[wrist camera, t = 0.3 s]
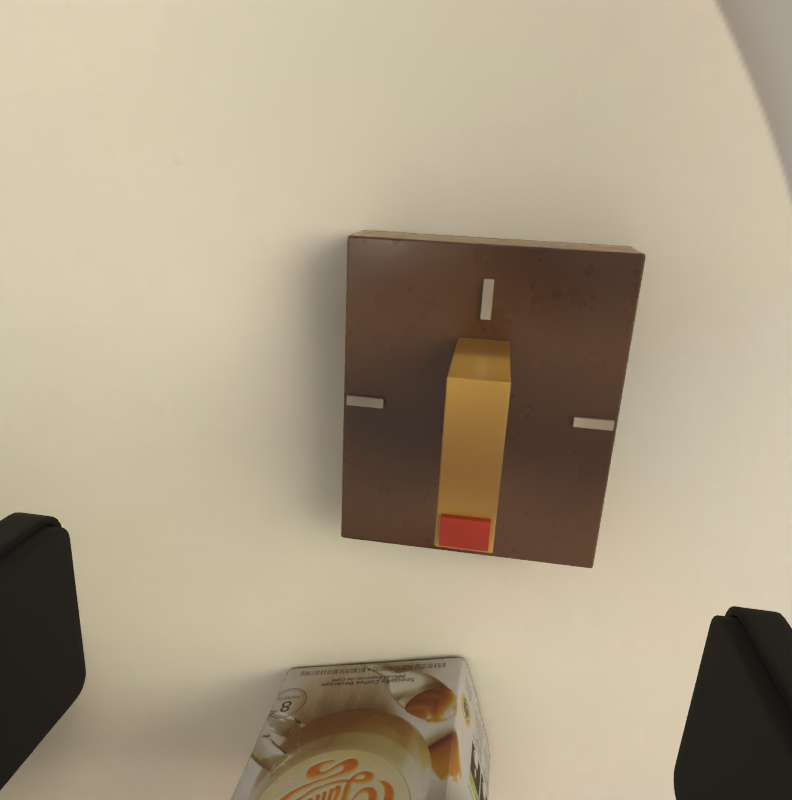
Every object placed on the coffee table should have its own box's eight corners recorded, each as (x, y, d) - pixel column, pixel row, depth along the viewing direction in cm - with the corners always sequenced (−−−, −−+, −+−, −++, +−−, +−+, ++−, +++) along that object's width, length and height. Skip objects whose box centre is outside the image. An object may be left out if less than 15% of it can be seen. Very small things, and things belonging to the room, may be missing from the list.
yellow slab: (457, 336, 23) (445, 379, 18) (509, 340, 23) (511, 385, 18) (446, 477, 25) (432, 550, 20) (494, 482, 25) (492, 558, 20)
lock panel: (361, 230, 25) (345, 235, 22) (632, 246, 24) (647, 254, 21) (353, 509, 29) (339, 540, 26) (585, 536, 27) (593, 571, 25)
